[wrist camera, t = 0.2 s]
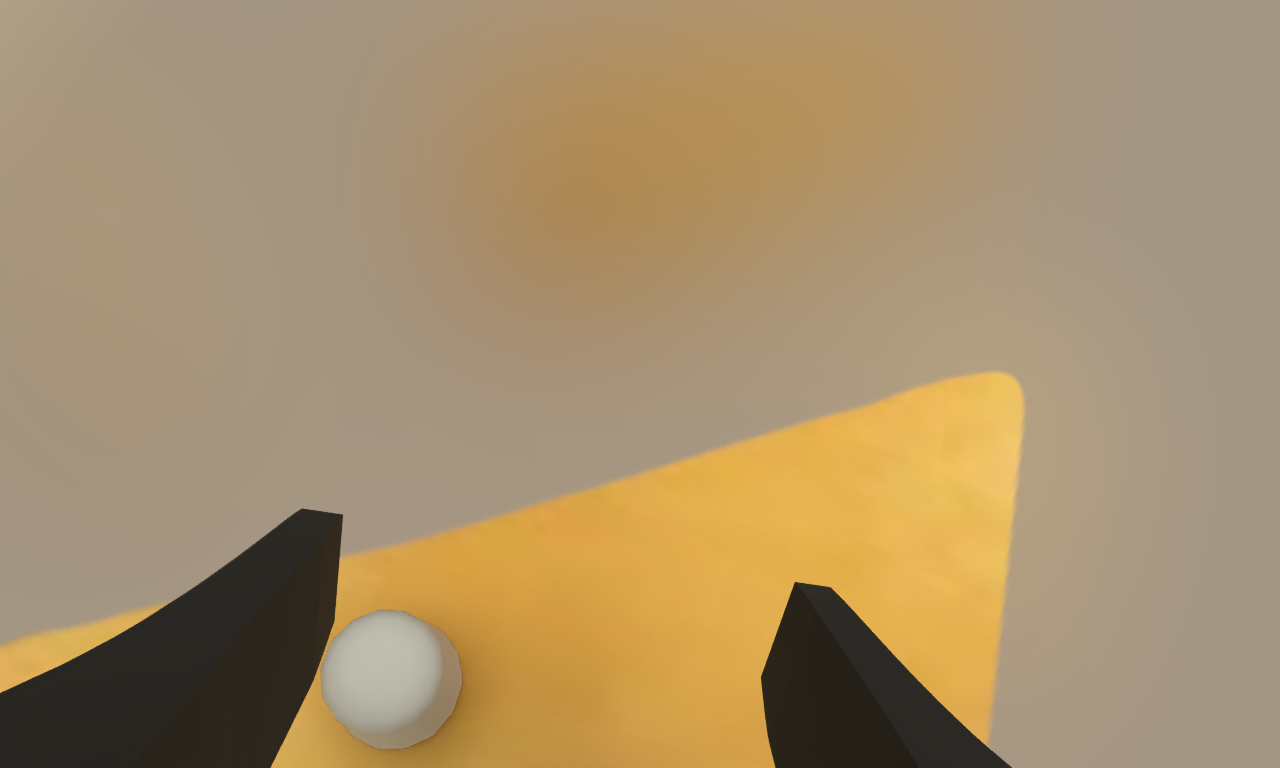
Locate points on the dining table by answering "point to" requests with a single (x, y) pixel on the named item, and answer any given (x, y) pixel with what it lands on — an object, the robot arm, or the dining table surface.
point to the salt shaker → (391, 679)
